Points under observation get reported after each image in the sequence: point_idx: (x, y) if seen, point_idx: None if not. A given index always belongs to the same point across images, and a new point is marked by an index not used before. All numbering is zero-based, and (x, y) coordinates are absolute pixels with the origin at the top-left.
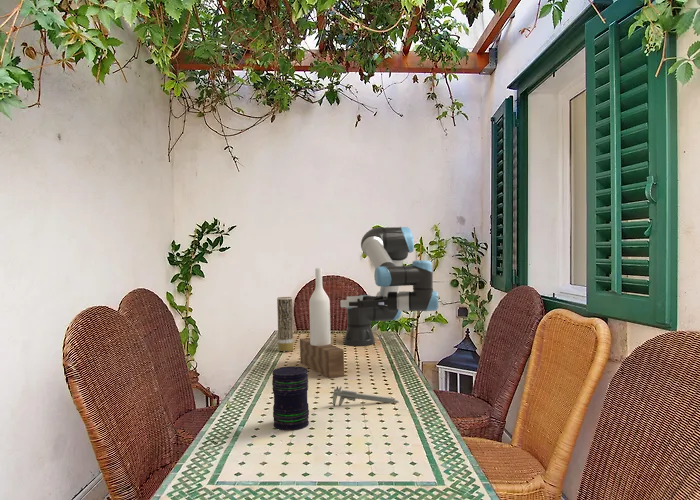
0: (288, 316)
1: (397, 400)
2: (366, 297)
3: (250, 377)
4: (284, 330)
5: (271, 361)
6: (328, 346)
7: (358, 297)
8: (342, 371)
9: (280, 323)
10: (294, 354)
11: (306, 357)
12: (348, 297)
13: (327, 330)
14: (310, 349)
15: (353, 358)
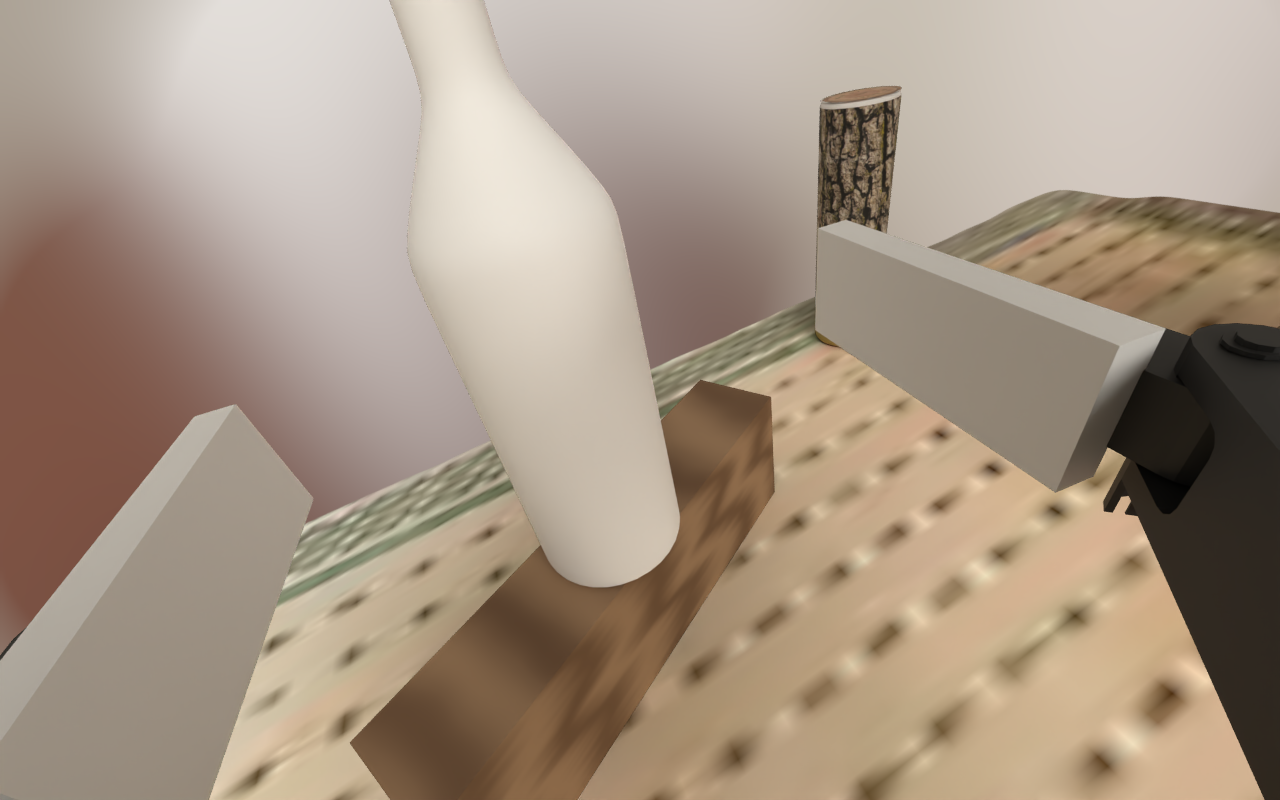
0: (847, 202)
1: None
2: (1256, 455)
3: (445, 473)
4: None
5: (678, 391)
6: (543, 622)
7: (1000, 322)
8: None
9: (817, 228)
10: (822, 378)
11: None
12: (836, 252)
13: (560, 516)
14: None
15: (1004, 635)
